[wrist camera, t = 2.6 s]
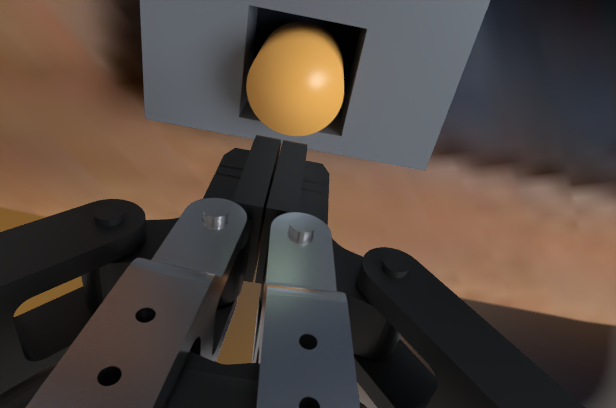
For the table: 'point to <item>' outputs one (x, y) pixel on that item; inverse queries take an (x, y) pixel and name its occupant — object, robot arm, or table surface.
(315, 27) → the orange button
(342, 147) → the button panel
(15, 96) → the table surface
